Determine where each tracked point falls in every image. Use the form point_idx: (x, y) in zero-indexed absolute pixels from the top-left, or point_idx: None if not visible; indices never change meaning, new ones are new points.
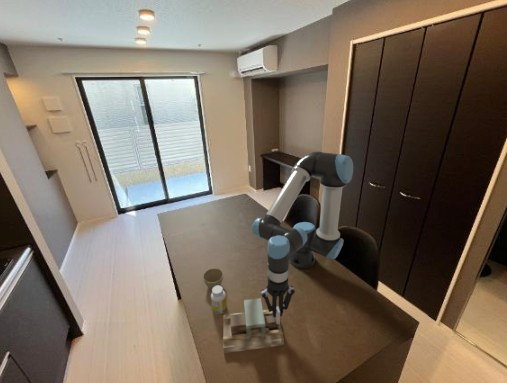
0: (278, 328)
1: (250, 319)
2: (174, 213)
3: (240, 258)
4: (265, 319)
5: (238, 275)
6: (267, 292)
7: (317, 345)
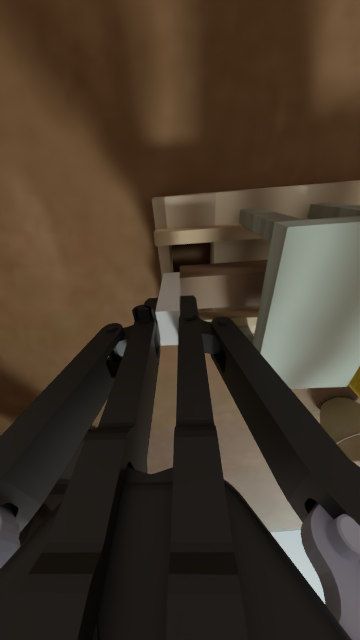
0: (170, 260)
1: None
2: None
3: (242, 454)
4: (229, 292)
5: None
6: (347, 608)
7: (10, 183)
